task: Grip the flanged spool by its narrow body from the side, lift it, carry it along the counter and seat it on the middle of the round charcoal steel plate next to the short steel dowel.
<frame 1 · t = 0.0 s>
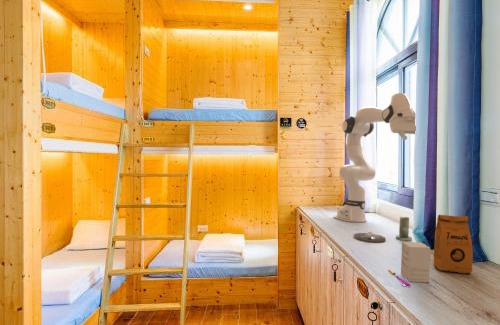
hand: (413, 139, 170), 54 cm above the table, tool tilted 30°, fingers open, 8 cm apart
seat plate: (369, 238, 174), on the table
marker pen: (396, 279, 117), on the table
flanged spool: (403, 239, 176), on the table
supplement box: (414, 279, 117), on the table
coffee package: (452, 271, 127), on the table
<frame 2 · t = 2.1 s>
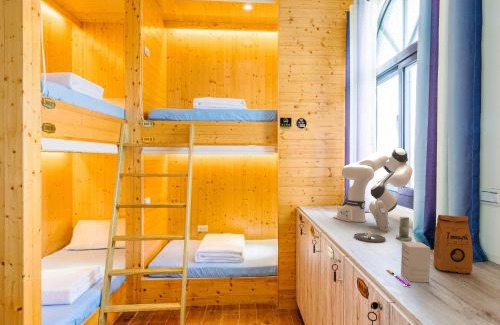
hand: (385, 220, 188), 7 cm above the table, tool horizontal, fingers open, 8 cm apart
nothing on the table moved.
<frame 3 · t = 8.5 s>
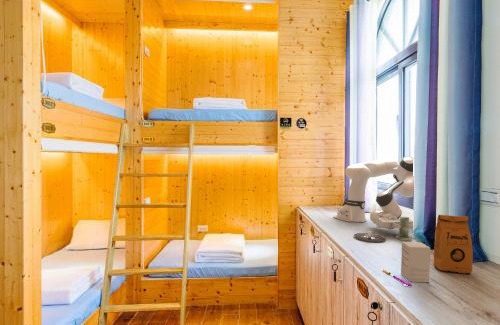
hand: (405, 226, 175), 7 cm above the table, tool horizontal, fingers closed on flanged spool, 5 cm apart
flanged spool: (403, 239, 176), on the table, touching gripper
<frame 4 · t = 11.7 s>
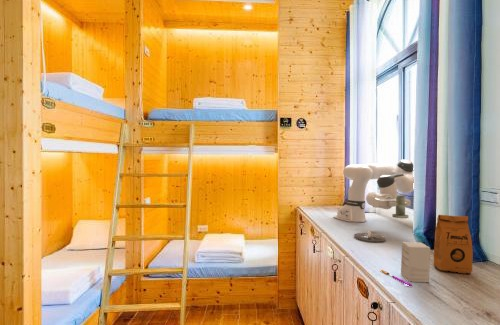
hand: (401, 204, 173), 19 cm above the table, tool horizontal, fingers closed on flanged spool, 5 cm apart
flanged spool: (400, 217, 174), point 12 cm above the table, touching gripper
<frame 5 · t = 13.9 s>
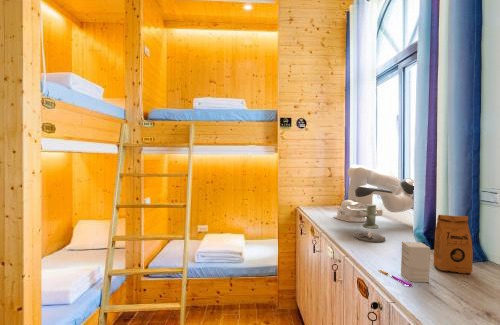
hand: (371, 214, 172), 13 cm above the table, tool horizontal, fingers closed on flanged spool, 5 cm apart
flanged spool: (370, 227, 173), point 6 cm above the table, touching gripper
when the fingers open (9 cm above the table, at t = 15.0 s): flanged spool drops 1 cm, resting on seat plate.
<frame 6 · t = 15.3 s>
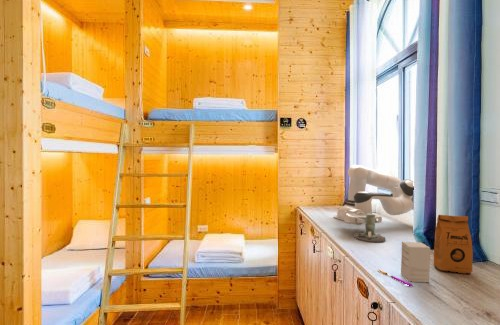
hand: (371, 221, 173), 9 cm above the table, tool horizontal, fingers open, 7 cm apart
flanged spool: (369, 236, 174), point 1 cm above the table, touching seat plate
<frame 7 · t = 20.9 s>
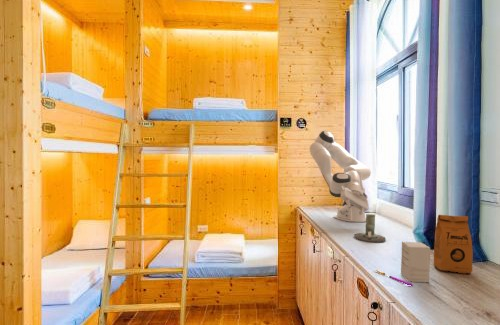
hand: (355, 210, 191), 12 cm above the table, tool tilted 45°, fingers open, 8 cm apart
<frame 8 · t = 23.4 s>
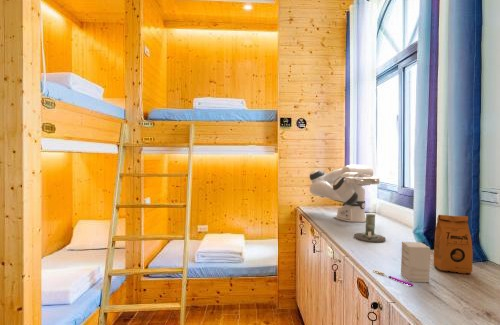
hand: (369, 181, 189), 30 cm above the table, tool horizontal, fingers open, 8 cm apart
at the end: flanged spool inside the target area on the seat plate (0.0 cm from its centre), point 1.2 cm above the seat plate's base; flanged spool tilted 0°; the gripper is holding nothing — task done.
